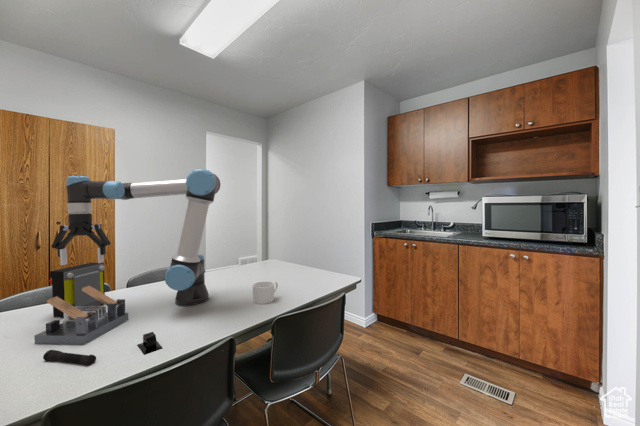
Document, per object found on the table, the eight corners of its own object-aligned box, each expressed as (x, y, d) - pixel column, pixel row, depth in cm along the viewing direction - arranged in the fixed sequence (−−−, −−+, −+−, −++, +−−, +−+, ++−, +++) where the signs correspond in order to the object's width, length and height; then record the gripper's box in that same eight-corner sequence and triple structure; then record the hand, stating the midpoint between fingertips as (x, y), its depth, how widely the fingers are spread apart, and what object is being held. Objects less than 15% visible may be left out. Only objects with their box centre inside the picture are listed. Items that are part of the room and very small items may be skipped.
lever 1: (87, 318, 97) (89, 315, 97) (79, 322, 94) (81, 319, 94) (55, 299, 98) (56, 296, 97) (46, 302, 95) (48, 299, 94)
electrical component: (68, 318, 114) (66, 272, 114) (49, 316, 116) (48, 271, 116) (108, 303, 131) (107, 263, 131) (91, 302, 133) (90, 262, 133)
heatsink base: (128, 319, 112) (127, 298, 112) (83, 344, 92) (82, 318, 92) (87, 319, 113) (86, 298, 113) (34, 343, 93) (33, 318, 93)
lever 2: (116, 305, 110) (118, 302, 110) (110, 307, 107) (112, 305, 107) (88, 288, 111) (89, 285, 110) (81, 290, 108) (82, 287, 107)
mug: (259, 306, 126) (259, 289, 125) (249, 300, 134) (248, 284, 133) (283, 299, 135) (283, 283, 134) (272, 294, 142) (272, 279, 142)
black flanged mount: (133, 345, 92) (132, 332, 92) (157, 337, 98) (156, 325, 97) (142, 359, 84) (141, 345, 84) (168, 350, 89) (167, 337, 89)
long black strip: (54, 357, 85) (54, 347, 85) (97, 362, 82) (96, 352, 82) (43, 362, 82) (42, 352, 82) (86, 368, 79) (86, 358, 79)
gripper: (118, 212, 118) (120, 259, 119) (52, 213, 114) (55, 263, 114) (108, 212, 111) (110, 263, 112) (37, 214, 106) (40, 267, 107)
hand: (82, 263), depth 113 cm, fingers open, 13 cm apart
